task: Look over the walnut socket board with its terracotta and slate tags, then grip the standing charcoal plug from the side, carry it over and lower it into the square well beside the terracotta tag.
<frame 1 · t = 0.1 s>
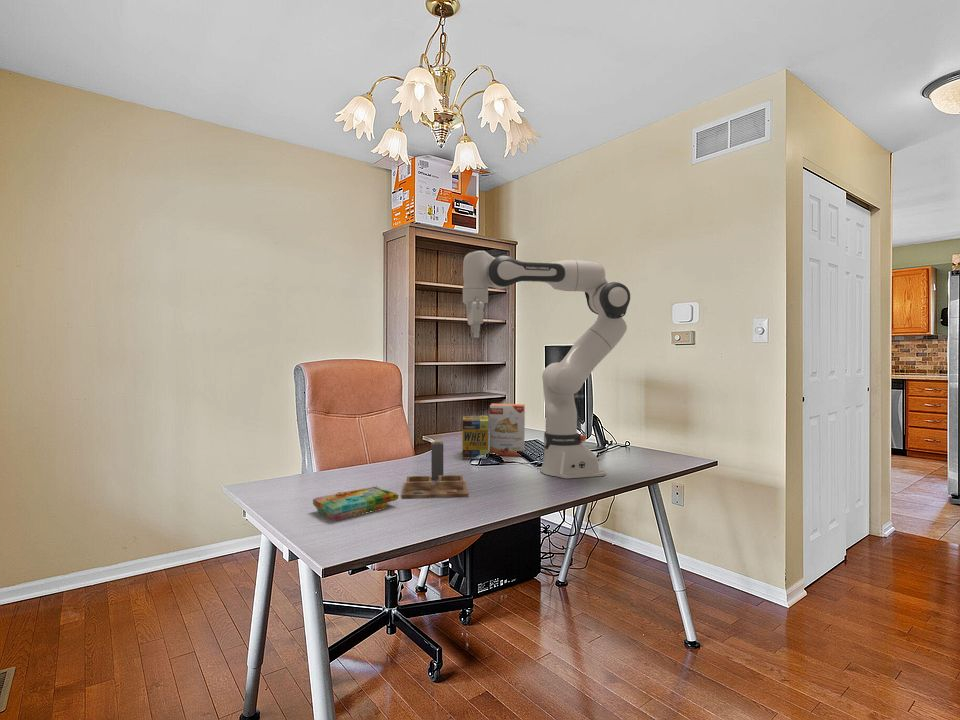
hand: (475, 337, 187), 48 cm above the table, tool pointing down, fingers open, 8 cm apart
protein box: (475, 456, 219), on the table
plug: (437, 477, 183), on the table
puzzle game: (356, 511, 149), on the table
cracker box: (507, 455, 220), on the table
socket board: (434, 491, 167), on the table
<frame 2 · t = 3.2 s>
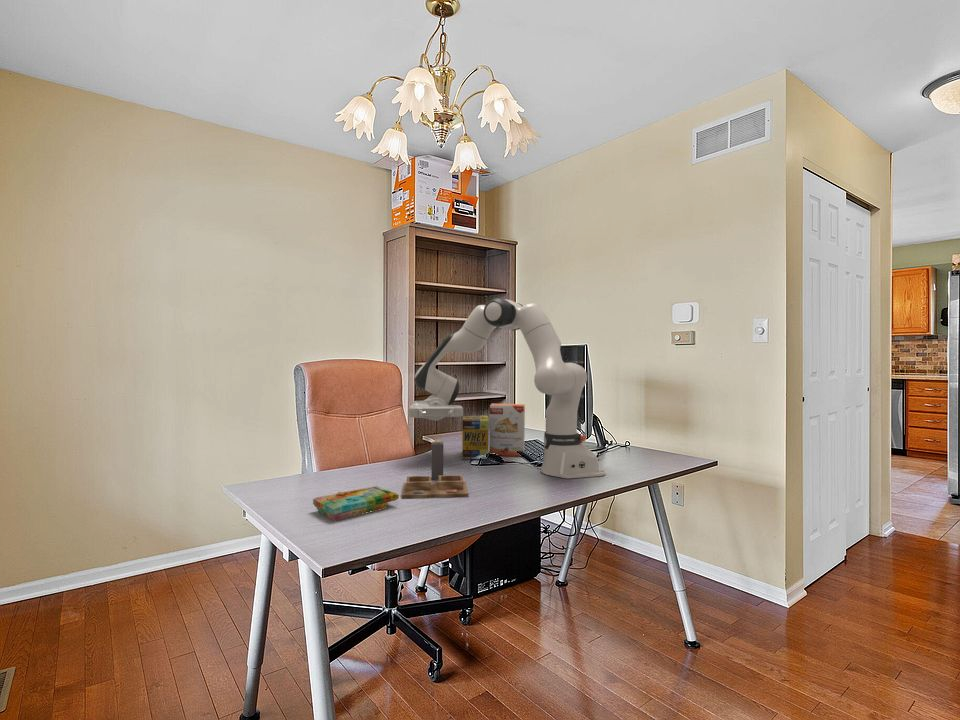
hand: (436, 414, 194), 20 cm above the table, tool horizontal, fingers open, 8 cm apart
nothing on the table moved.
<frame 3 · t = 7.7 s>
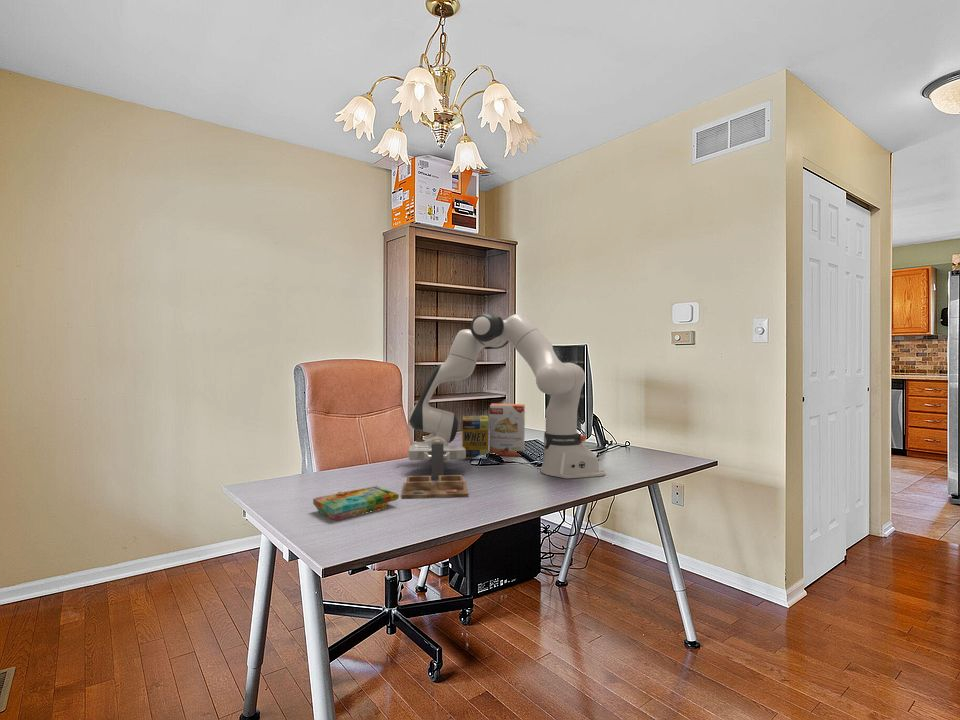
hand: (437, 457, 182), 7 cm above the table, tool horizontal, fingers closed on plug, 4 cm apart
plug: (437, 477, 183), on the table, touching gripper
everything else where it was.
when the fingers open (9 cm above the table, at t = 12.3 s): plug stays where it is, resting on socket board.
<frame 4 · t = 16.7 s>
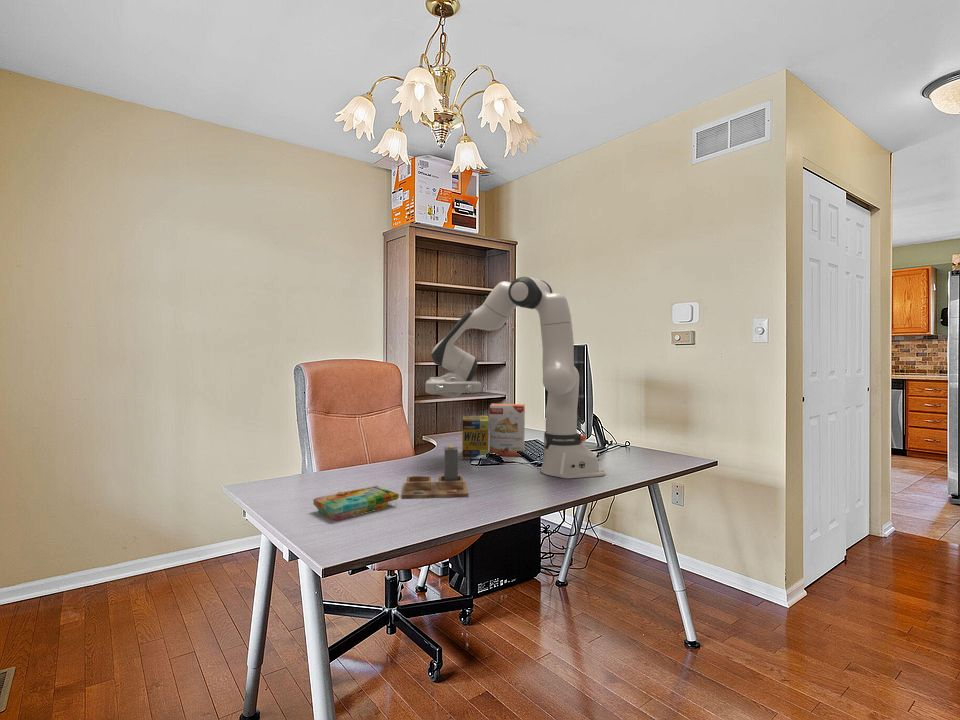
hand: (454, 388, 188), 30 cm above the table, tool horizontal, fingers open, 8 cm apart
plug: (450, 486, 169), point 1 cm above the table, touching socket board
everything else where it was.
at the end: plug 0.1 cm from the target spot on the socket board, point 1.0 cm above the socket board's base; plug tilted 0°; the gripper is holding nothing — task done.
